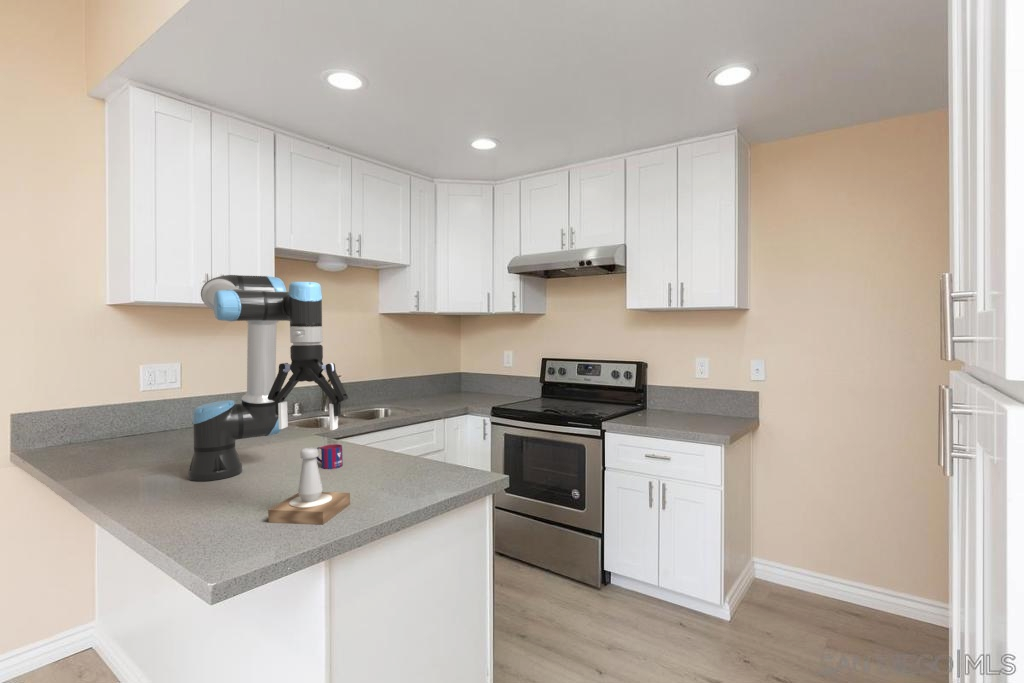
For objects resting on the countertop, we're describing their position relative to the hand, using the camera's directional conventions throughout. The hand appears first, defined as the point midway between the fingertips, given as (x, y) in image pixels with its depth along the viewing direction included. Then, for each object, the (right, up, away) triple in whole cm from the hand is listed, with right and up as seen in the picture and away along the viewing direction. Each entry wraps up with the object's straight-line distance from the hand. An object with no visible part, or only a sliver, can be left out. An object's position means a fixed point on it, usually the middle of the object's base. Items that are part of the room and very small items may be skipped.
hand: (308, 428), depth 129 cm
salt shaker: (0, -18, 0) cm, 18 cm away
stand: (+1, -21, 0) cm, 21 cm away
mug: (-11, -21, +45) cm, 51 cm away
